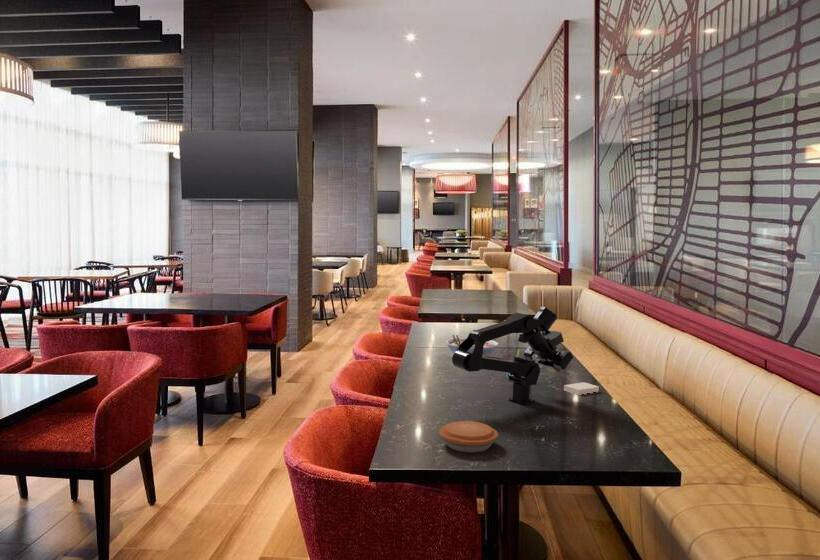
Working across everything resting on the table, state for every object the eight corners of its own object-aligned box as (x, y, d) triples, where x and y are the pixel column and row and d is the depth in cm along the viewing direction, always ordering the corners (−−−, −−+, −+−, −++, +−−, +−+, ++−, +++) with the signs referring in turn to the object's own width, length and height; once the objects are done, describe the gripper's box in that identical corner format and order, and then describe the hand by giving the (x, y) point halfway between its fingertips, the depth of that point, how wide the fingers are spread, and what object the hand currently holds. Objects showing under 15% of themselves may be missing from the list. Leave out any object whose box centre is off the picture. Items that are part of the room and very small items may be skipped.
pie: (492, 435, 170) (493, 418, 169) (502, 456, 154) (503, 437, 154) (436, 434, 169) (437, 417, 169) (441, 455, 154) (441, 436, 153)
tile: (578, 389, 213) (598, 386, 218) (564, 385, 219) (584, 382, 224) (578, 396, 213) (598, 393, 218) (563, 391, 219) (583, 388, 224)
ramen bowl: (501, 366, 256) (502, 346, 255) (446, 364, 256) (447, 345, 255) (494, 353, 280) (495, 336, 280) (444, 352, 281) (445, 334, 280)
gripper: (570, 328, 200) (592, 358, 207) (531, 320, 216) (553, 348, 223) (551, 353, 197) (574, 384, 203) (513, 343, 213) (535, 372, 219)
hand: (559, 371), depth 212 cm, fingers closed
